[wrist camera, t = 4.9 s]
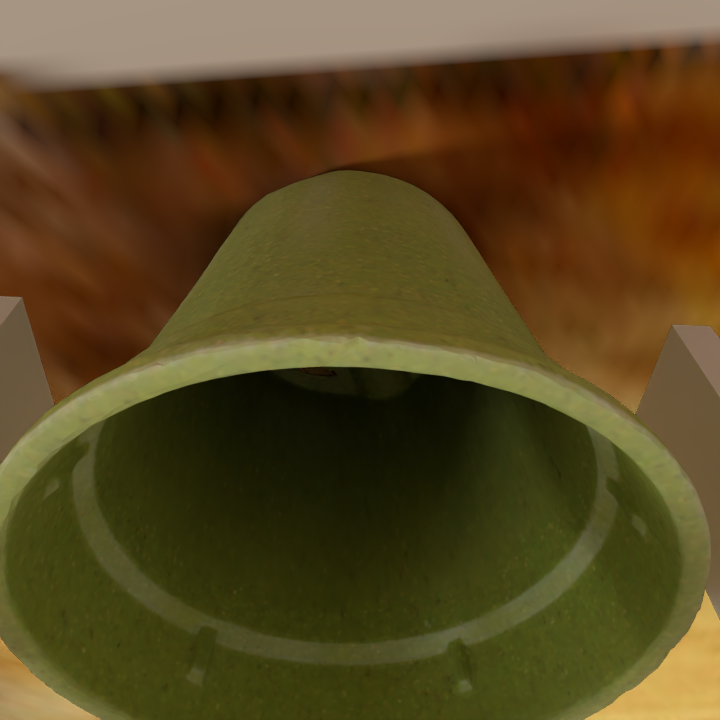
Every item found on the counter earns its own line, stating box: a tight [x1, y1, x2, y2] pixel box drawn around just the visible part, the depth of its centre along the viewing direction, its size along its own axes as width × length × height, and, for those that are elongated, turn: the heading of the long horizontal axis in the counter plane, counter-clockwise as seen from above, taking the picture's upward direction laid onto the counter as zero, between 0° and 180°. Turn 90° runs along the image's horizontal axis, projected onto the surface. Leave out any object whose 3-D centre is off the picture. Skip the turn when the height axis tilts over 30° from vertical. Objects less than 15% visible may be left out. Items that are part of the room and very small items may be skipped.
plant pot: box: [0, 170, 711, 720], centre depth 12 cm, size 9×9×9 cm
